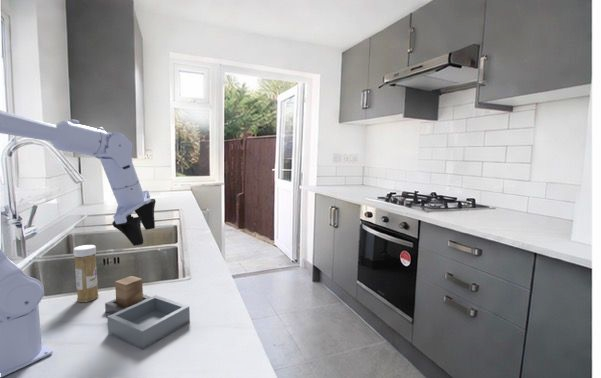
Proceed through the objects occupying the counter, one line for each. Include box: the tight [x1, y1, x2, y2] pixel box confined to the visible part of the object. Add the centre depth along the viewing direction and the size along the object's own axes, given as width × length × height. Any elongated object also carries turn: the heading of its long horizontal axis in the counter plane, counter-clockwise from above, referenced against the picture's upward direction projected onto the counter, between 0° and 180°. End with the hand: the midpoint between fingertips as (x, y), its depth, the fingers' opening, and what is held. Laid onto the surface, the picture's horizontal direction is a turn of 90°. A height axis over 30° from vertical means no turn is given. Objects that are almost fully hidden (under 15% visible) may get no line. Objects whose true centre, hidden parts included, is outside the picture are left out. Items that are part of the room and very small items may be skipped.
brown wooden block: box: [114, 275, 144, 308], centre depth 72 cm, size 4×4×7 cm
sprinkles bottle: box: [72, 244, 100, 303], centre depth 76 cm, size 5×5×13 cm
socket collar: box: [104, 293, 152, 315], centre depth 72 cm, size 7×7×2 cm
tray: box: [107, 294, 191, 350], centre depth 64 cm, size 11×11×4 cm
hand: (144, 236), depth 74 cm, fingers open, 7 cm apart
